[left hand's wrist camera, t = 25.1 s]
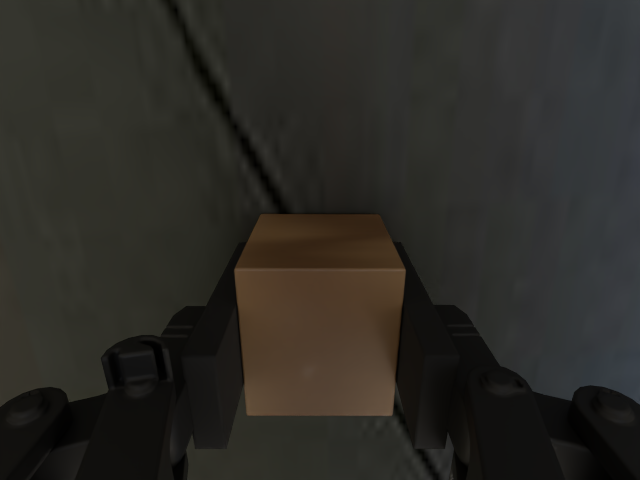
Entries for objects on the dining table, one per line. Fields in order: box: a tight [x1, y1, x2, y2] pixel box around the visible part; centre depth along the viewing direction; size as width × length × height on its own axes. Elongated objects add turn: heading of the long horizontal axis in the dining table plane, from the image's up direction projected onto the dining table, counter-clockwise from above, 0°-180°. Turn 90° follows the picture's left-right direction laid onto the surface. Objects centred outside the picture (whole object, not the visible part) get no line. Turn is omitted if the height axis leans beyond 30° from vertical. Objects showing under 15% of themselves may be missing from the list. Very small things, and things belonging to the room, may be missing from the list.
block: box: [234, 214, 406, 416], centre depth 13 cm, size 4×5×5 cm
